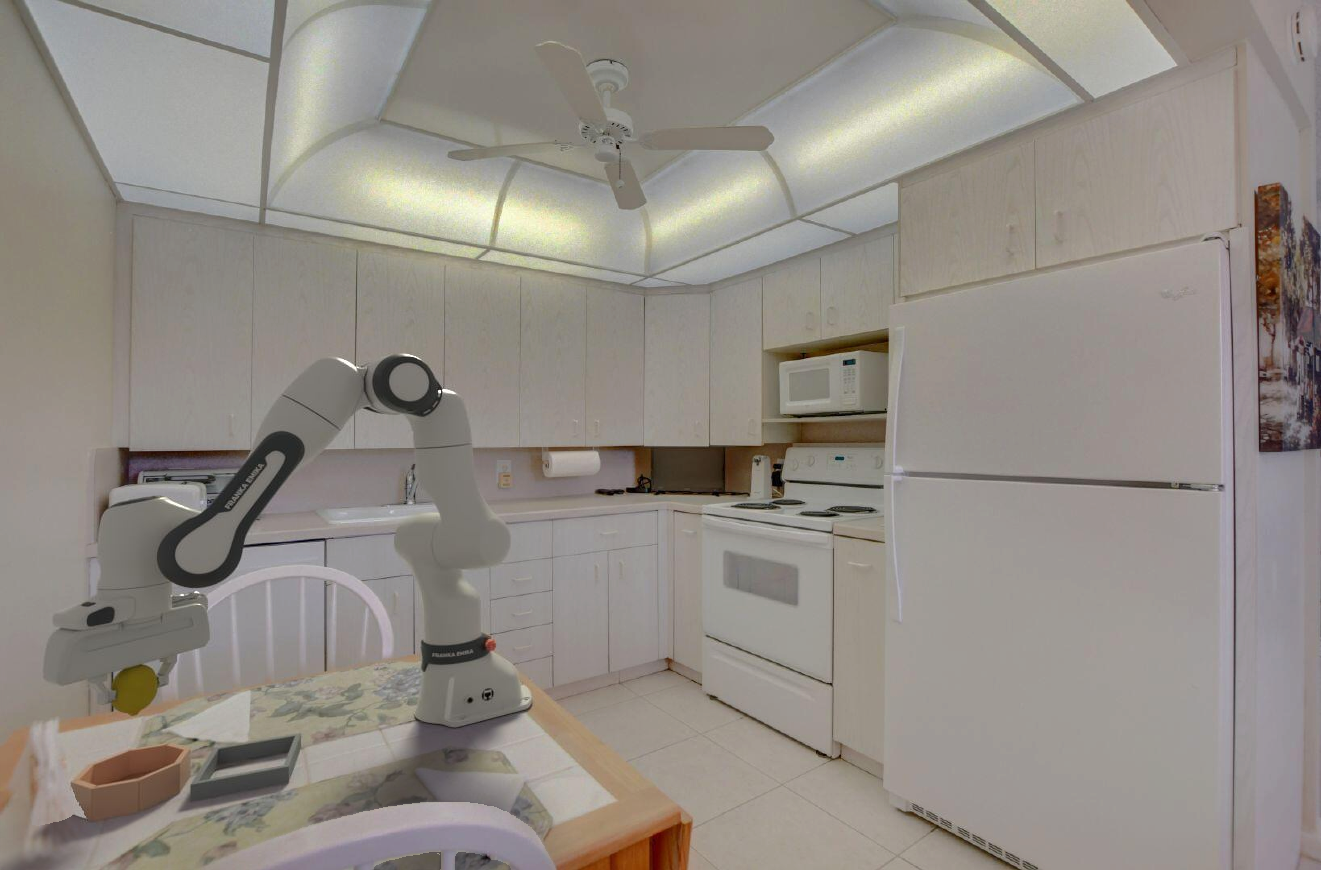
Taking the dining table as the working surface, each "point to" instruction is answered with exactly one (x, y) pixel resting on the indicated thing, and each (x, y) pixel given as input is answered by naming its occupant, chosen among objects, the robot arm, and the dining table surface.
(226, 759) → the tray
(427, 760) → the dining table surface
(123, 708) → the lemon
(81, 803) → the bowl
